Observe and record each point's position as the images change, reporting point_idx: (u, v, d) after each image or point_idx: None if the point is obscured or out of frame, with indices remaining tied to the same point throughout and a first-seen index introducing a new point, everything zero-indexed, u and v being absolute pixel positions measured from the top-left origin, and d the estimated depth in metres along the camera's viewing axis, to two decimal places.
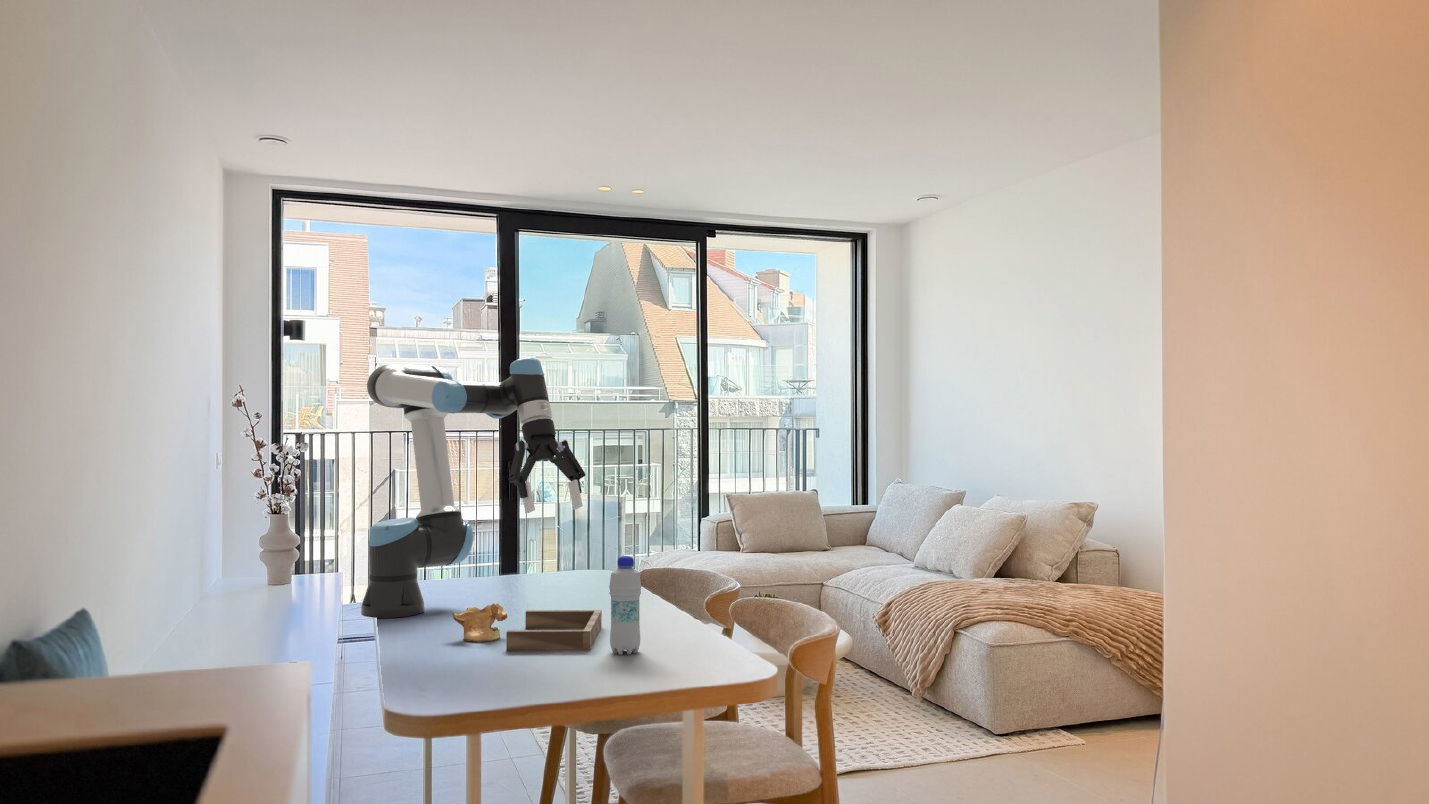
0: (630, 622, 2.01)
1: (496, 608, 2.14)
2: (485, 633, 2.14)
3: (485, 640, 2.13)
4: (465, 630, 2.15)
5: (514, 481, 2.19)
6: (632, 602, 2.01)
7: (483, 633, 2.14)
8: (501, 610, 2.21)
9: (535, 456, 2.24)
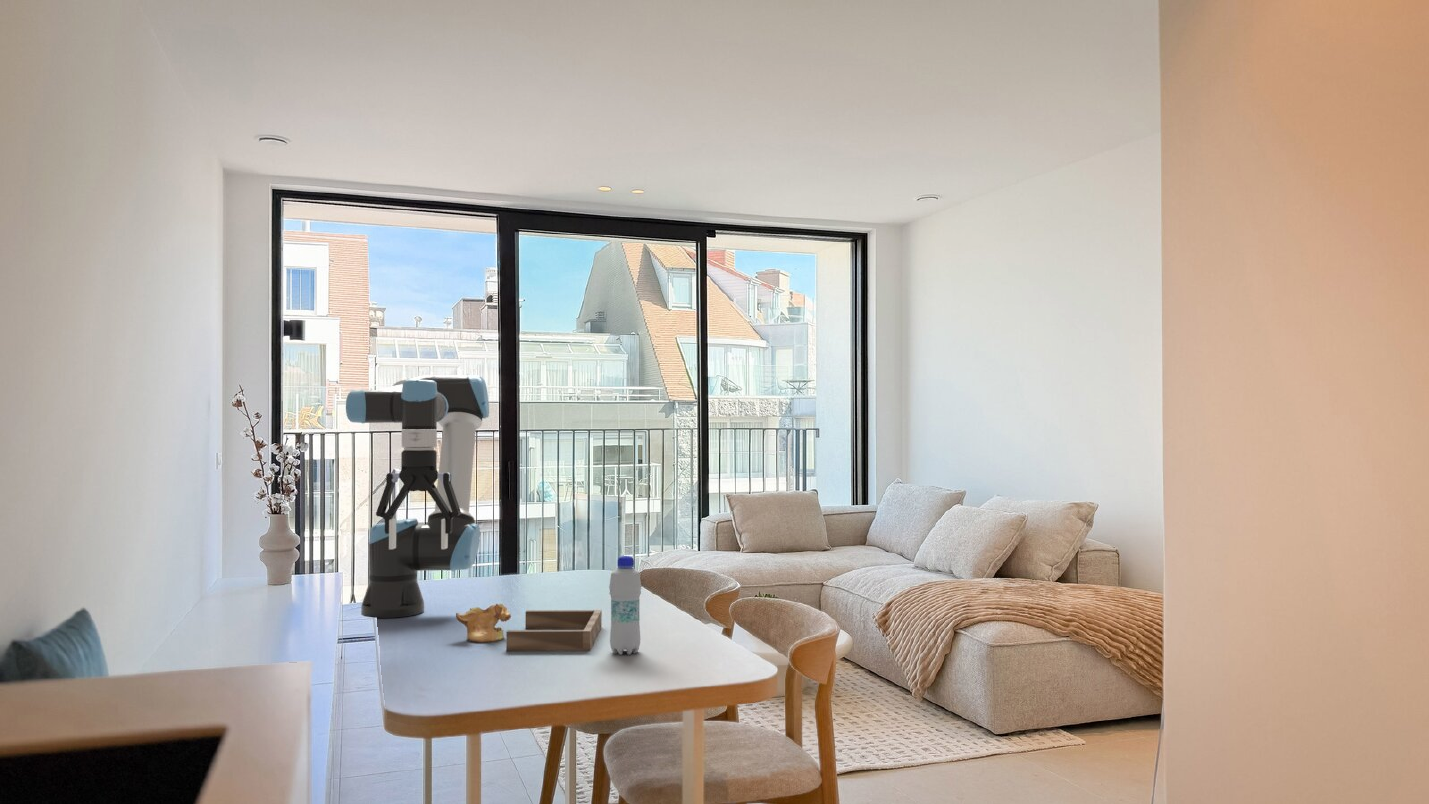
0: (630, 622, 2.01)
1: (500, 608, 2.14)
2: (489, 634, 2.14)
3: (489, 640, 2.13)
4: (469, 630, 2.15)
5: None
6: (632, 602, 2.01)
7: (487, 633, 2.14)
8: (505, 610, 2.20)
9: (401, 490, 2.16)
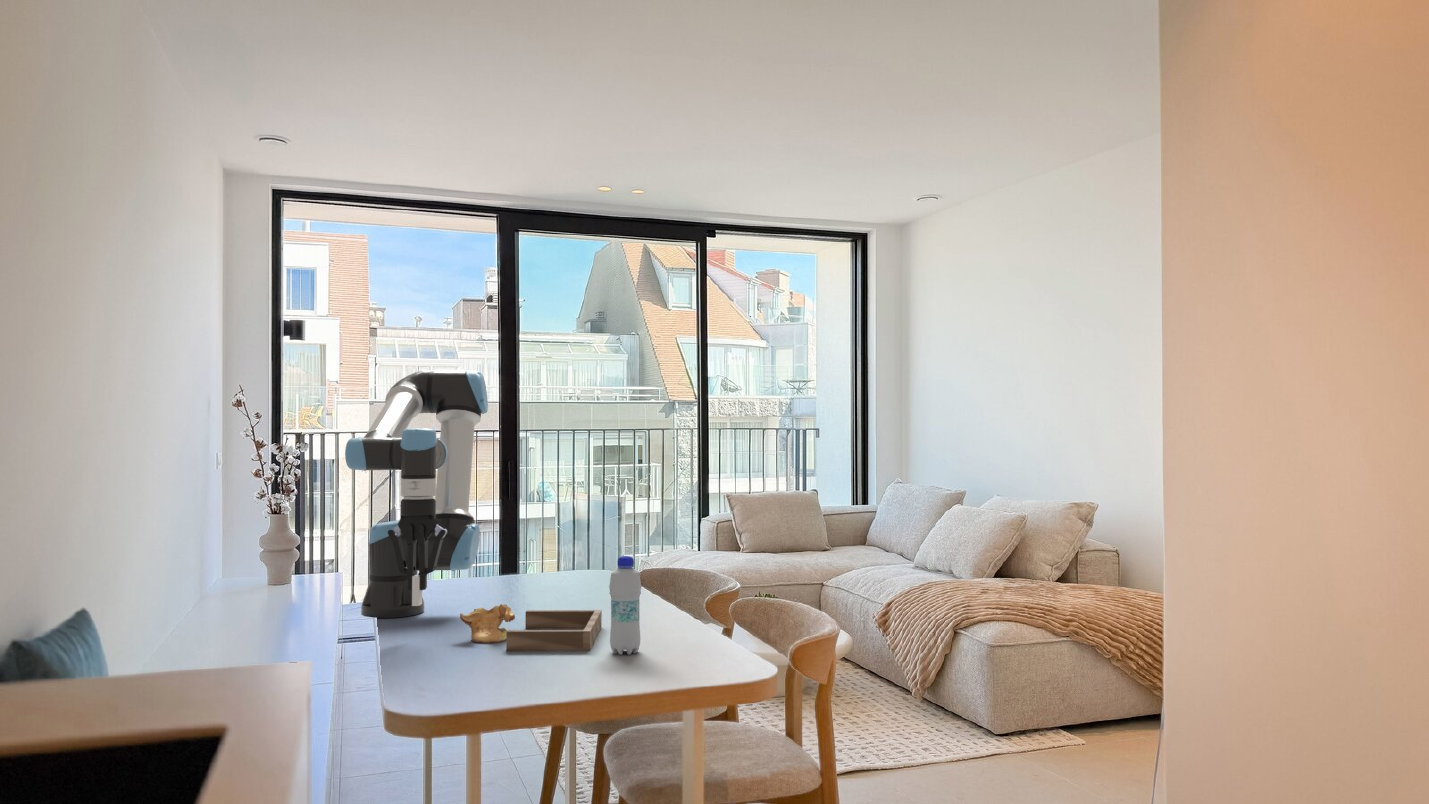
0: (630, 622, 2.01)
1: (504, 609, 2.13)
2: (493, 634, 2.13)
3: (493, 641, 2.13)
4: (473, 631, 2.14)
5: None
6: (632, 602, 2.01)
7: (491, 634, 2.13)
8: (509, 611, 2.20)
9: (408, 543, 2.15)
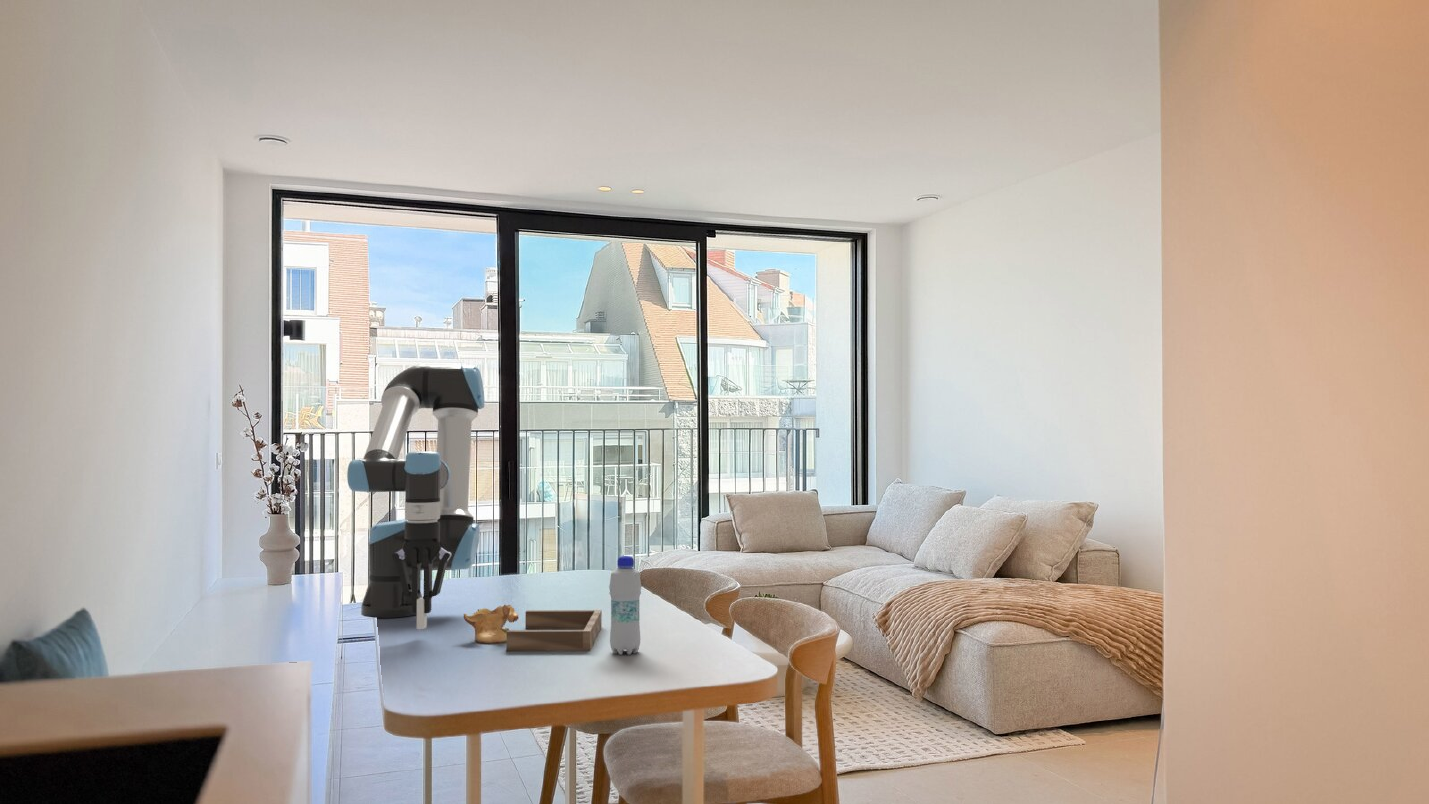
0: (630, 622, 2.01)
1: (508, 609, 2.13)
2: (496, 635, 2.13)
3: (497, 641, 2.12)
4: (476, 631, 2.14)
5: None
6: (632, 602, 2.01)
7: (495, 634, 2.13)
8: (512, 611, 2.19)
9: (413, 566, 2.15)
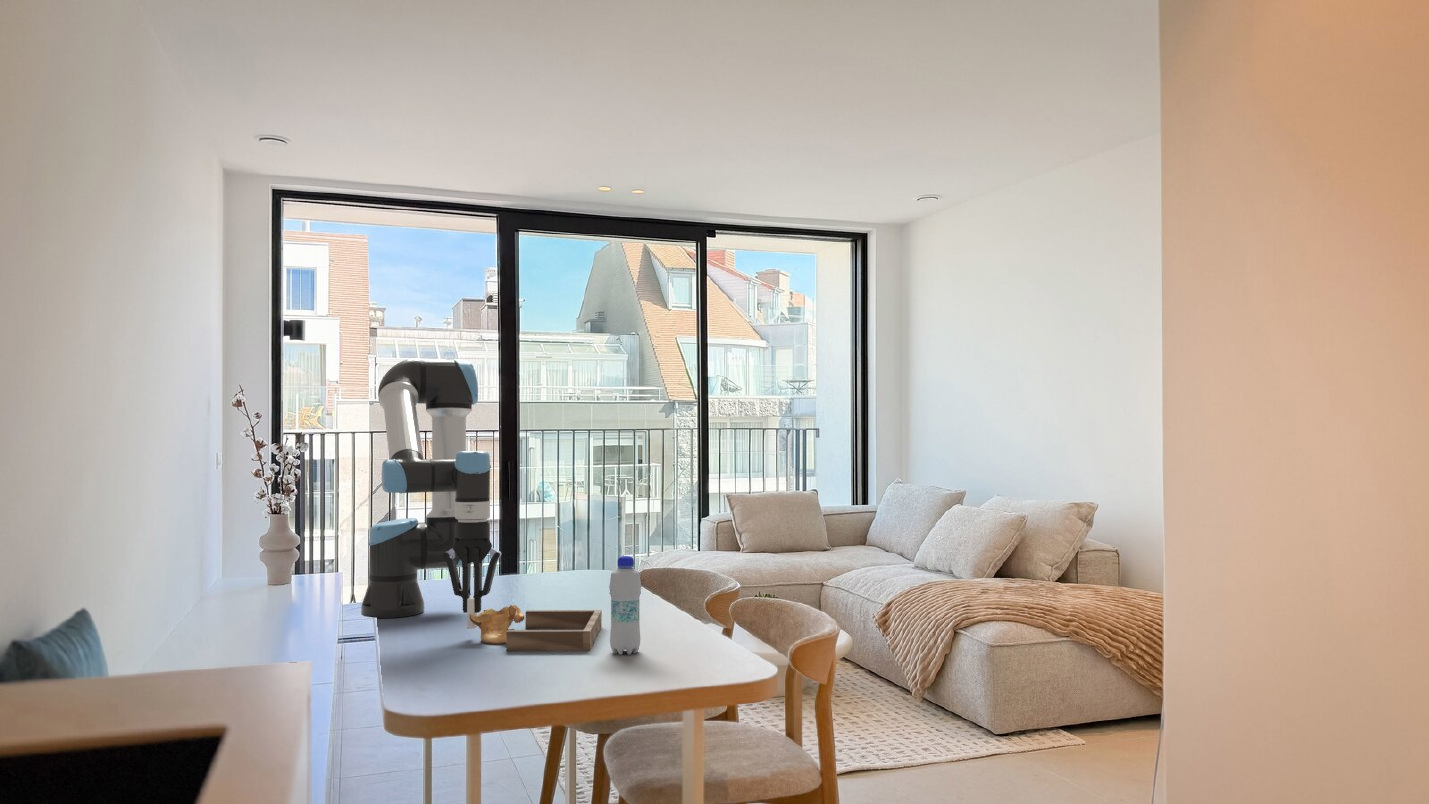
0: (630, 622, 2.01)
1: (514, 610, 2.12)
2: (503, 635, 2.12)
3: (503, 642, 2.11)
4: (482, 632, 2.13)
5: None
6: (632, 602, 2.01)
7: (501, 635, 2.12)
8: (518, 612, 2.19)
9: (463, 565, 2.15)
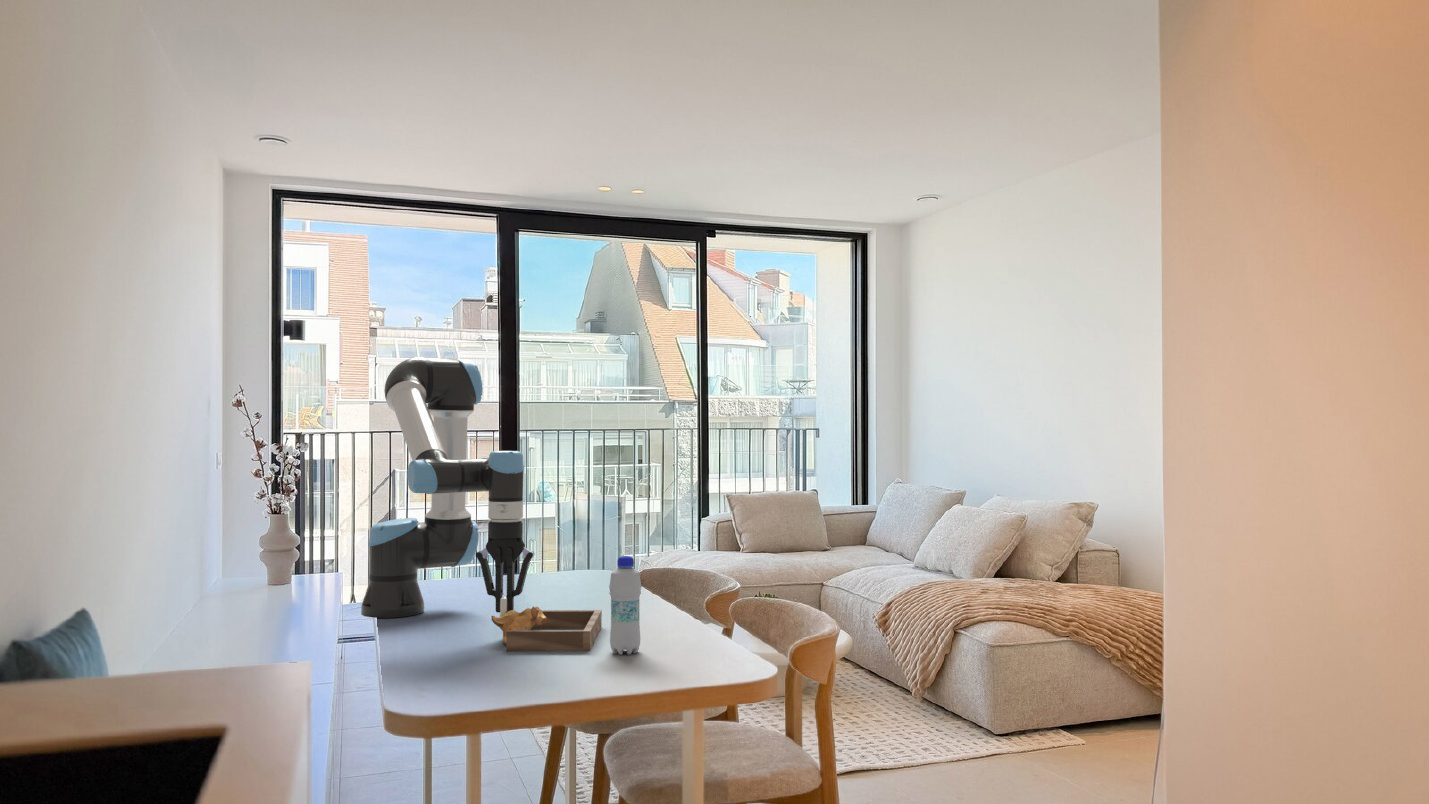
0: (630, 622, 2.01)
1: (536, 611, 2.10)
2: None
3: None
4: (504, 634, 2.11)
5: None
6: (632, 602, 2.01)
7: None
8: (540, 613, 2.17)
9: (496, 565, 2.15)
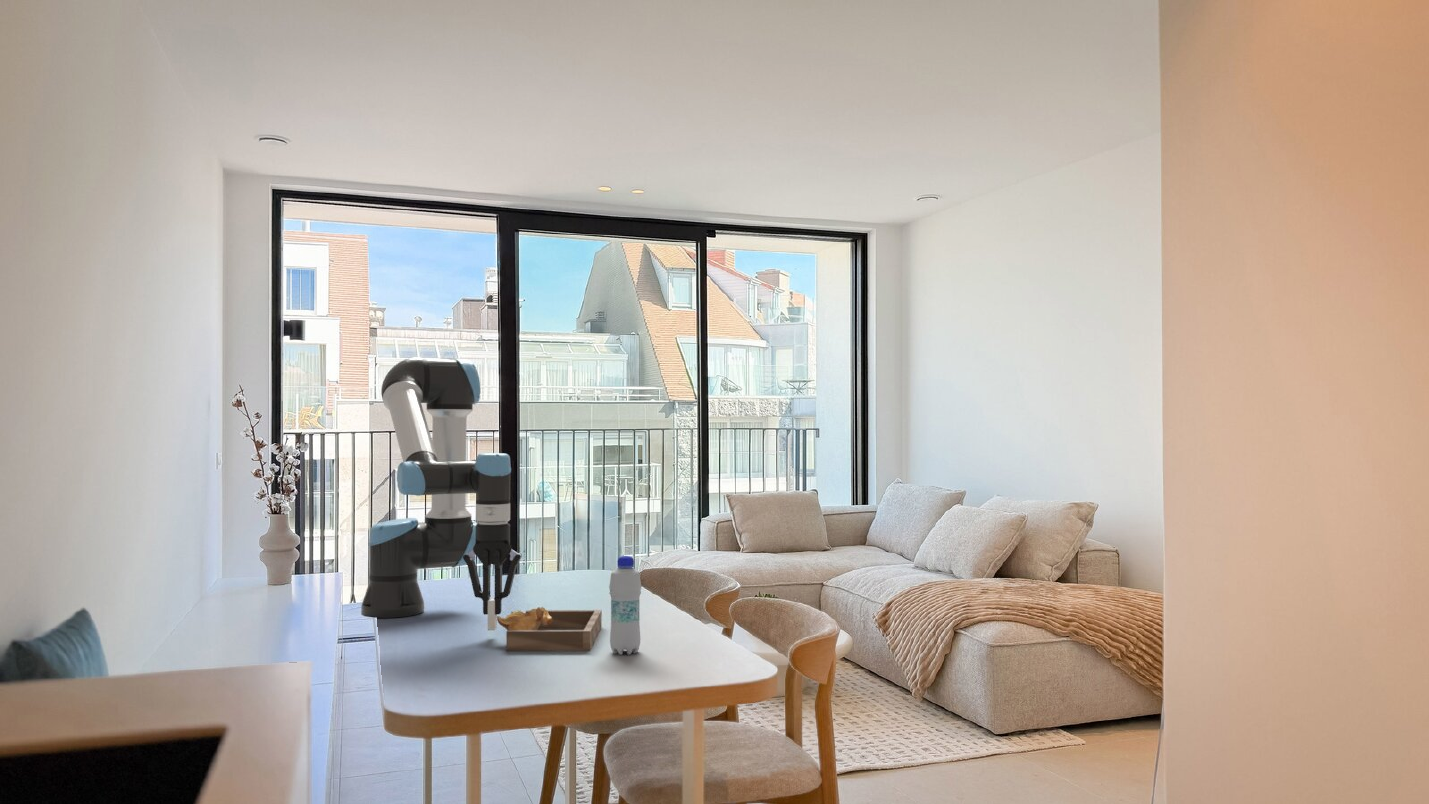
0: (630, 622, 2.01)
1: (541, 612, 2.09)
2: None
3: None
4: None
5: None
6: (632, 602, 2.01)
7: None
8: (546, 614, 2.16)
9: (484, 568, 2.16)
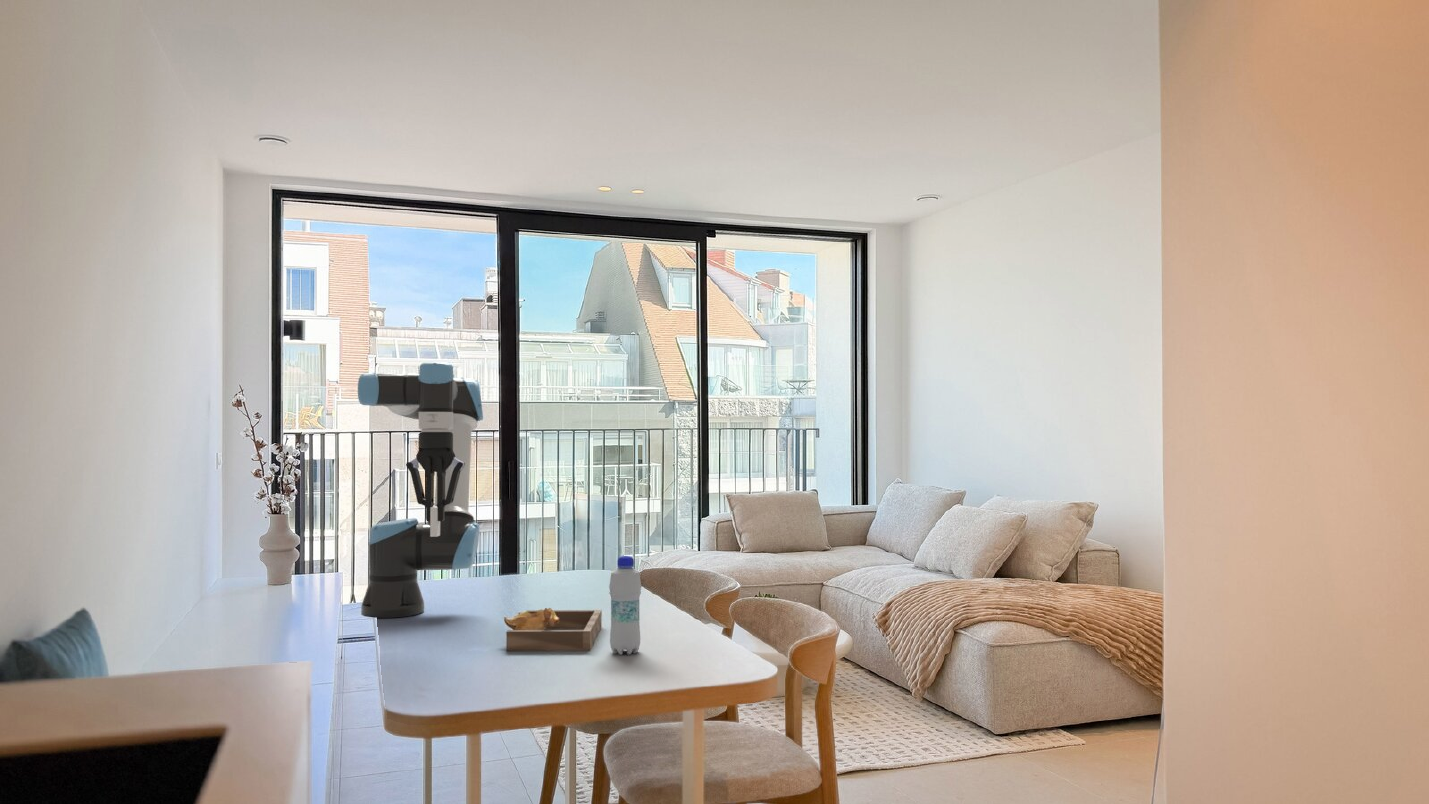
0: (630, 622, 2.01)
1: (549, 613, 2.09)
2: None
3: None
4: None
5: None
6: (632, 602, 2.01)
7: None
8: (553, 615, 2.15)
9: (426, 475, 2.19)
